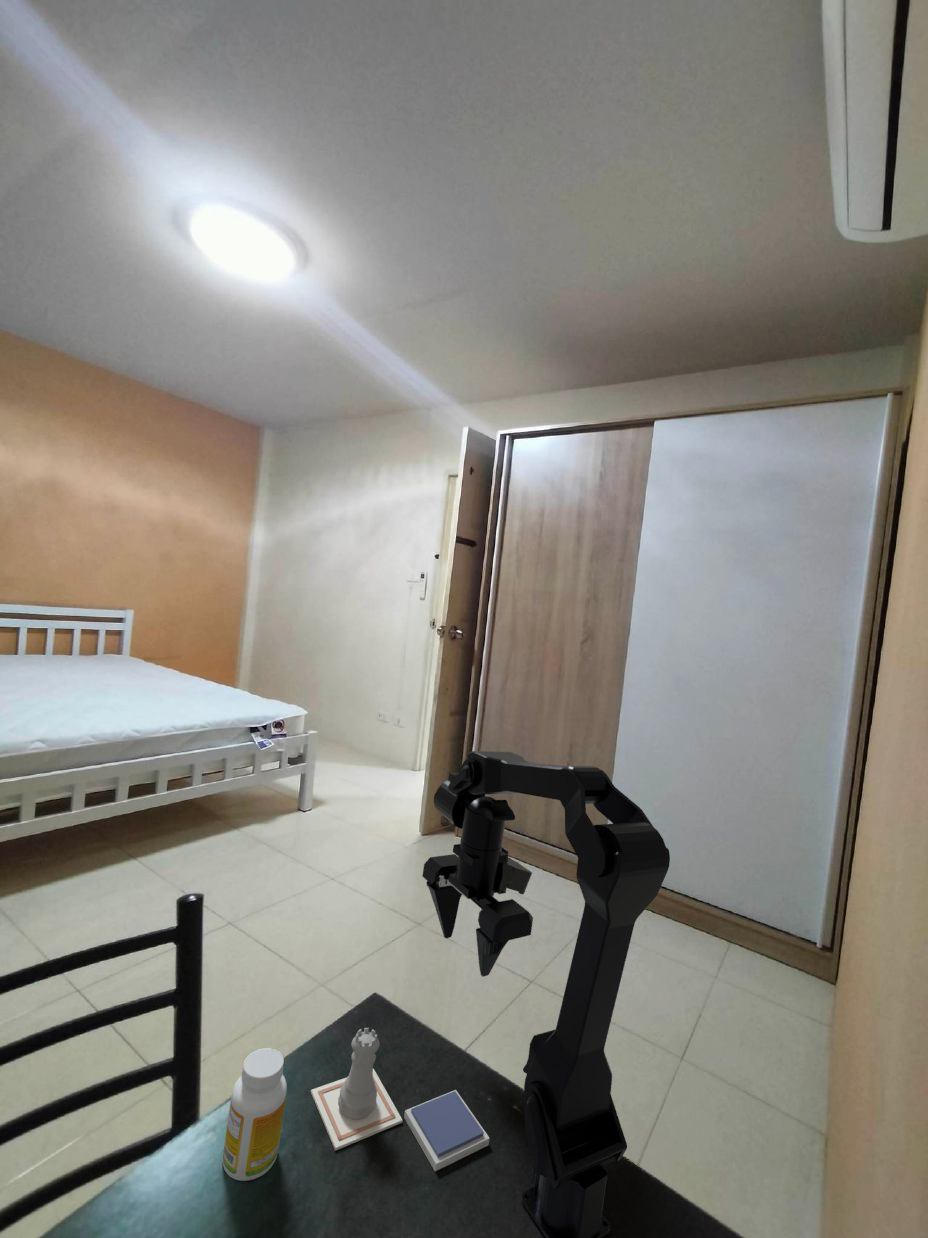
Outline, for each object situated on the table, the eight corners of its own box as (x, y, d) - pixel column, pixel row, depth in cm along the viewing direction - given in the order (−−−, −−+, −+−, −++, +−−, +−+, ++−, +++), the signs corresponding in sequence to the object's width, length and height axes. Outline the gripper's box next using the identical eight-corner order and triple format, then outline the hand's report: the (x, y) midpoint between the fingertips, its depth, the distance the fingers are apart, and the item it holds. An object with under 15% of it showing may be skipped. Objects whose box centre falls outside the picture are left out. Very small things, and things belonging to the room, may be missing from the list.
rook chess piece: (372, 1125, 63) (382, 1053, 63) (332, 1118, 63) (343, 1047, 63) (379, 1092, 67) (388, 1025, 67) (342, 1086, 67) (352, 1019, 67)
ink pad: (488, 1145, 62) (490, 1134, 62) (434, 1171, 59) (436, 1160, 59) (454, 1096, 68) (456, 1086, 68) (404, 1117, 64) (405, 1107, 64)
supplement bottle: (285, 1137, 60) (298, 1046, 60) (266, 1188, 55) (280, 1088, 55) (235, 1129, 60) (249, 1038, 60) (211, 1178, 55) (226, 1078, 55)
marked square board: (402, 1122, 64) (402, 1119, 64) (335, 1151, 59) (335, 1147, 59) (372, 1070, 70) (373, 1067, 70) (310, 1092, 66) (311, 1089, 66)
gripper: (571, 864, 74) (554, 983, 74) (488, 814, 90) (474, 911, 89) (505, 875, 68) (486, 1004, 68) (428, 819, 83) (413, 924, 83)
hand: (465, 955), depth 77 cm, fingers open, 9 cm apart
